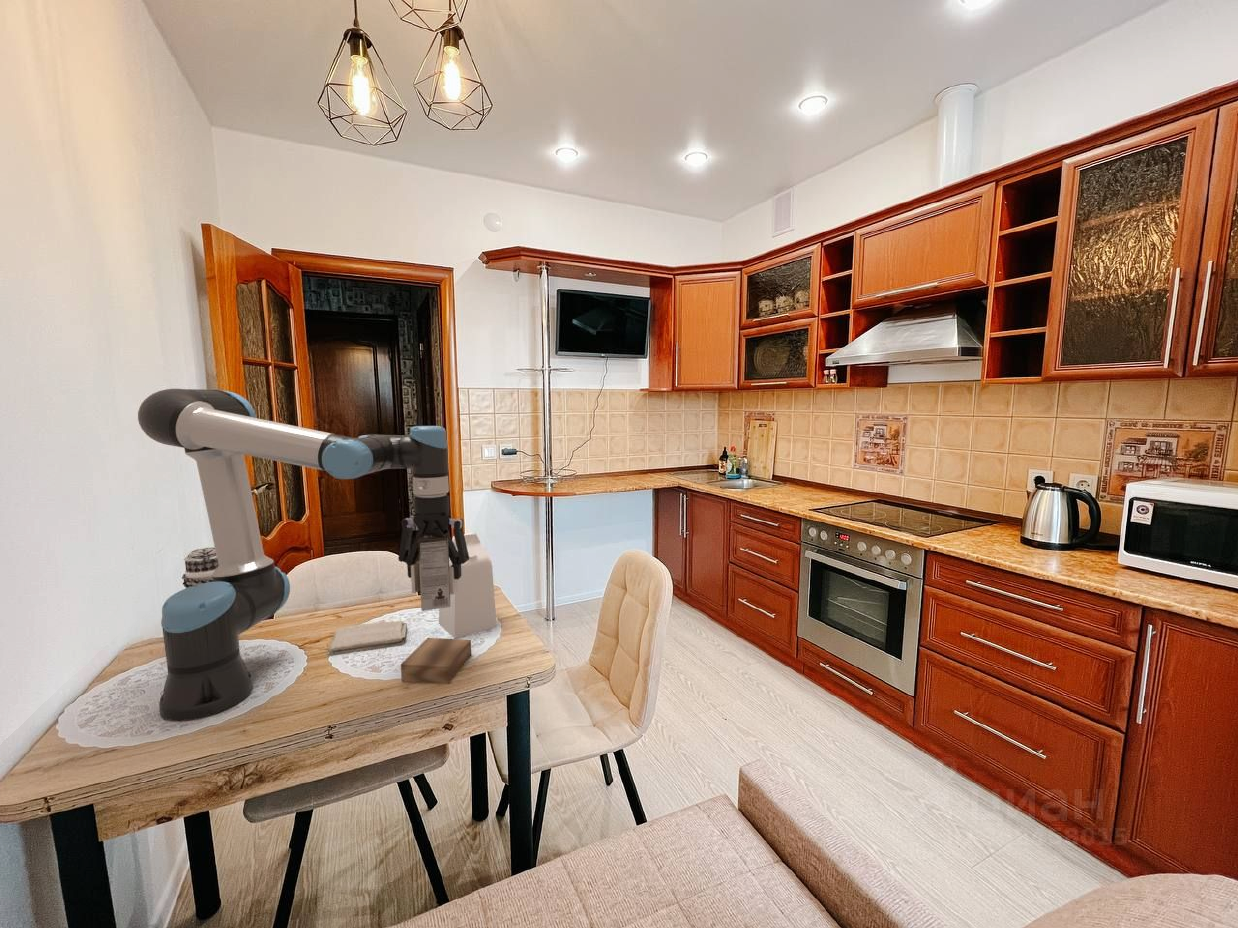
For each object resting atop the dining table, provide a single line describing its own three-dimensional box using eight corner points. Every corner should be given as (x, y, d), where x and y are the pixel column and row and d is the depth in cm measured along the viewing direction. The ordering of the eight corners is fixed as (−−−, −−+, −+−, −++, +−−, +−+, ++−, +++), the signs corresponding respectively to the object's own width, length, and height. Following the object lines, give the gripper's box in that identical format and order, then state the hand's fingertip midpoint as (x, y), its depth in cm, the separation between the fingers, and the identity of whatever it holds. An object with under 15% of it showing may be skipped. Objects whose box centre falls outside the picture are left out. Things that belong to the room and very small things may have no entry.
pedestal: (401, 681, 113) (400, 664, 113) (428, 653, 126) (427, 637, 126) (449, 683, 112) (448, 666, 112) (471, 655, 125) (470, 639, 125)
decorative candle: (188, 644, 130) (178, 549, 127) (233, 633, 136) (225, 543, 133) (190, 658, 123) (180, 558, 120) (237, 645, 129) (229, 550, 126)
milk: (479, 613, 150) (476, 527, 147) (496, 626, 142) (494, 535, 138) (438, 624, 143) (435, 533, 140) (454, 638, 134) (451, 542, 131)
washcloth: (406, 646, 131) (406, 634, 130) (327, 658, 124) (326, 646, 124) (407, 627, 142) (407, 616, 141) (334, 637, 135) (334, 626, 135)
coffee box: (421, 596, 120) (418, 530, 118) (449, 593, 123) (446, 528, 121) (420, 611, 112) (417, 540, 110) (451, 607, 114) (448, 537, 112)
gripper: (377, 496, 112) (382, 595, 114) (470, 498, 110) (473, 599, 112) (395, 490, 119) (399, 584, 122) (482, 492, 117) (485, 587, 120)
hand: (435, 591), depth 117 cm, fingers closed on coffee box, 8 cm apart
